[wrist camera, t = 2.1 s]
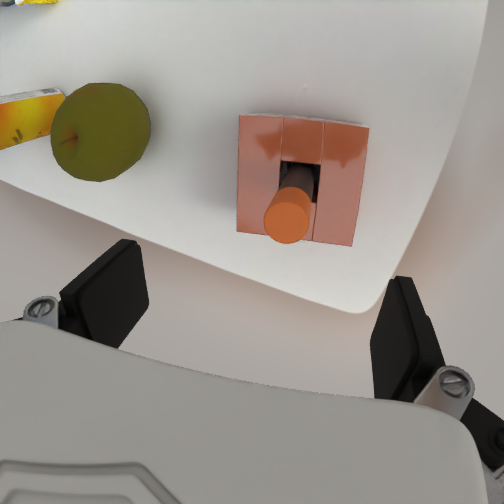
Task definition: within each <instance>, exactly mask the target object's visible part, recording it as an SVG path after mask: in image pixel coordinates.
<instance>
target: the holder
mask: <svg viewBox="0 0 504 504" xmlns="http://www.w3.org/2000/svg"><path fill="white" fill-rule="evenodd" d="M368 135H369V128H368V127H366V126H364V125H363V124H360V123H353V122H347V121H339V120H332V119H323V118H314V117H305V116H294V115H281V114H266V113H249V114H244V115H239V142H238V183H237V232H245V233H253V234H261V235H268V233H267V232H266V230H265V228H264V223H263V219H264V214H265V212H266V210H267V208H268V206H269V205H270V203H271V201H272V199H273V197H274V195H275V194H276V193H277V191H278V189H279V187H280V185H281V183H282V181H283V179H284V178H285V176H286V167H287V161H291V162H301V163H309V164H318V165H320V174H319V184H318V187H313V194H312V201H311V214H310V221H309V228H308V231H307V233H306V234H305V236H304V237H303V238H302V239H301V240H308V241H314V242H322V243H329V244H336V245H343V246H352V242H353V237H354V231H355V226H356V220H357V214H358V208H359V202H360V196H361V189H362V183H363V175H364V168H365V161H366V153H367V144H368Z"/></svg>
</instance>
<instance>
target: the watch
mask: <svg viewBox="0 0 504 504" xmlns="http://www.w3.org/2000/svg"><path fill="white" fill-rule="evenodd" d="M56 2H57V0H15V4H16V5H23V4H25V3H29V4H34V3H35V4H49V3H56Z"/></svg>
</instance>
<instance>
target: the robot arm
mask: <svg viewBox="0 0 504 504" xmlns="http://www.w3.org/2000/svg"><path fill="white" fill-rule="evenodd" d="M59 294H60V297H61V300H60V301H59V302H58V300H57V299H56V298H54V297H52V296H42V297H39V298H36V299H34V300H32V301H31V302H30V303H29V304H28V305H27V306H26V307H25V310H24V315H23V317H22V318H18V319H15V320H11V321H6V322H2V323H0V504H504V421H503V420H502V419H501V418H499V417H498V416H497V415H495V414H494V413H493V412H491V411H490V410H489V409H487V408H486V407H485V406H483V405H482V404H481V403H479V402H478V401H476V400H475V399H474V398H472V397H473V394H474V391H475V387H474V382H473V380H472V378H471V377H470V375H469V374H468V373H467V372H465V371H464V370H463V369H461V368H459V367H455V366H446V365H445V362H444V358H443V355H442V352H441V349H440V346H439V343H438V340H437V337H436V334H435V331H434V328H433V326H432V323H431V320H430V318H429V316H427V315H426V313H425V311H424V308H423V305H422V303H421V300H420V298H419V295H418V292H417V290H416V287H415V285H414V282H413V280H412V278H411V277H404V276H396V277H395V278H394V279H390V280H389V283H388V286H387V290H386V293H385V296H384V299H383V303H382V306H381V309H380V312H379V315H378V318H377V321H376V324H375V327H374V330H373V332H372V335H371V339H370V351H371V361H372V372H373V382H374V398H375V399H373V398H364V397H355V396H342V395H334V394H326V393H318V392H309V391H302V390H295V389H288V388H282V387H276V386H269V385H264V384H258V383H253V382H247V381H242V380H236V379H232V378H227V377H222V376H218V375H213V374H209V373H204V372H200V371H196V370H191V369H187V368H183V367H179V366H175V365H171V364H168V363H164V362H160V361H157V360H153V359H149V358H146V357H142V356H139V355H135V354H132V353H129V352H125V351H122V350H119V349H118V347H119V346H120V345H121V344H122V342H123V341H124V339H125V338H126V337H127V335H128V334H129V333H130V331H131V330H132V329H133V327H134V326H135V325H136V323H137V322H138V321H139V319H140V318H141V317H142V315H143V314H144V313H145V311H146V310H147V309H148V306H149V298H148V292H147V286H146V280H145V274H144V267H143V261H142V253H141V247H140V245H138V244H137V242H136V241H134V240H128V239H121V240H120V241H118V242H117V243H116V244H115V245H114V246H112V247H111V248H110V249H109V250H108V251H106V252H105V253H104V254H102V255H101V256H100V257H99V258H98V259H97V260H95V261H94V262H93V263H92V264H91V265H90V266H88V267H87V268H86V269H85V270H84V271H83V272H81V273H80V274H79V275H78V276H77V277H76V278H75V279H73V280H72V281H71V282H70V283H69V284H68V285H67V286H66V287H64V288H63V289H62V290H61V291H60V292H59Z"/></svg>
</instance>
